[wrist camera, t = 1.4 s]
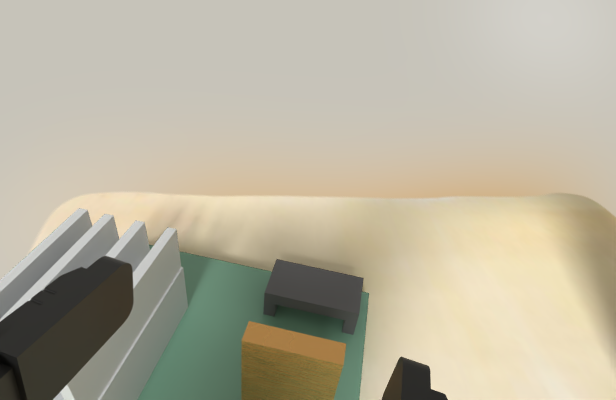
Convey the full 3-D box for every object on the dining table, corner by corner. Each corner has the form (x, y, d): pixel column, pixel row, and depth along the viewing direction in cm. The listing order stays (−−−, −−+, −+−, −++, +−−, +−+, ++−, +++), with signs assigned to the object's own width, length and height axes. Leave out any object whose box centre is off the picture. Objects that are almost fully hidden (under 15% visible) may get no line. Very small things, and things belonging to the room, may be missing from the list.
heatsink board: (327, 681, 20) (369, 659, 13) (-91, 548, 22) (-230, 474, 16) (364, 306, 39) (390, 221, 32) (137, 255, 41) (117, 166, 35)
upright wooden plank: (317, 456, 26) (343, 364, 19) (241, 436, 27) (241, 340, 20) (330, 371, 31) (355, 275, 24) (266, 356, 31) (272, 257, 25)
